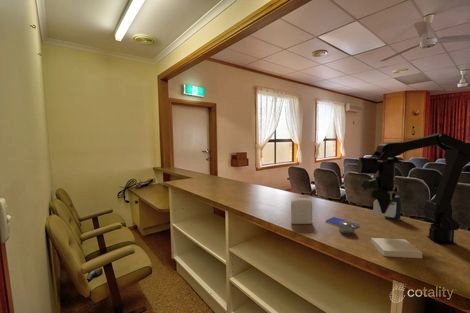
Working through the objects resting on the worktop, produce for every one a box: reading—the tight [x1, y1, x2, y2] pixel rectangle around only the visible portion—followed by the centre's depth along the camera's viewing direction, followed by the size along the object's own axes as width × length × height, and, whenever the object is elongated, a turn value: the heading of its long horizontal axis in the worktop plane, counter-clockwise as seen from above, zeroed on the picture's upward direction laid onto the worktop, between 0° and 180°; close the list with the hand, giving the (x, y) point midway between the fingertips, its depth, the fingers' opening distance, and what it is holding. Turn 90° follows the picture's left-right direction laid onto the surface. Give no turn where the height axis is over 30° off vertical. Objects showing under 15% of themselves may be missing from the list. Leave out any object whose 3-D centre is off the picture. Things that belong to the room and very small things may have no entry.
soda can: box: [384, 194, 402, 222], centre depth 112 cm, size 7×7×12 cm
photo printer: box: [290, 197, 313, 225], centre depth 108 cm, size 10×4×12 cm, turn 90°
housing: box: [372, 198, 396, 218], centre depth 90 cm, size 7×5×6 cm
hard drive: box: [325, 216, 360, 229], centre depth 106 cm, size 2×8×12 cm
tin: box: [338, 220, 356, 236], centre depth 97 cm, size 6×6×4 cm
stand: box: [370, 237, 423, 259], centre depth 81 cm, size 12×10×2 cm
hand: (384, 211), depth 90 cm, fingers closed on housing, 5 cm apart
